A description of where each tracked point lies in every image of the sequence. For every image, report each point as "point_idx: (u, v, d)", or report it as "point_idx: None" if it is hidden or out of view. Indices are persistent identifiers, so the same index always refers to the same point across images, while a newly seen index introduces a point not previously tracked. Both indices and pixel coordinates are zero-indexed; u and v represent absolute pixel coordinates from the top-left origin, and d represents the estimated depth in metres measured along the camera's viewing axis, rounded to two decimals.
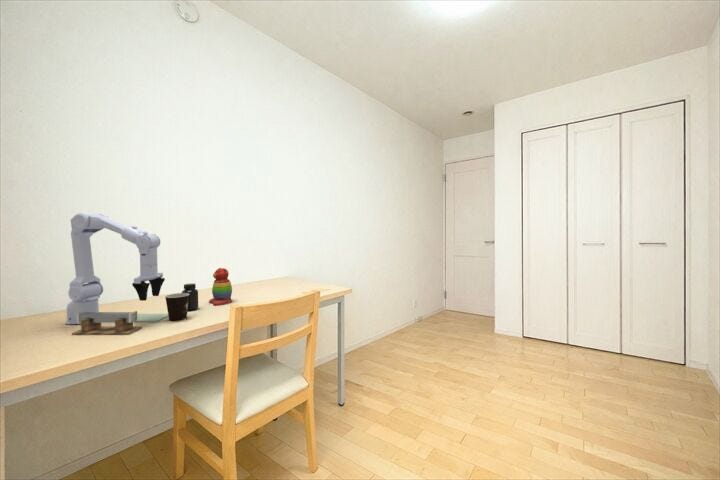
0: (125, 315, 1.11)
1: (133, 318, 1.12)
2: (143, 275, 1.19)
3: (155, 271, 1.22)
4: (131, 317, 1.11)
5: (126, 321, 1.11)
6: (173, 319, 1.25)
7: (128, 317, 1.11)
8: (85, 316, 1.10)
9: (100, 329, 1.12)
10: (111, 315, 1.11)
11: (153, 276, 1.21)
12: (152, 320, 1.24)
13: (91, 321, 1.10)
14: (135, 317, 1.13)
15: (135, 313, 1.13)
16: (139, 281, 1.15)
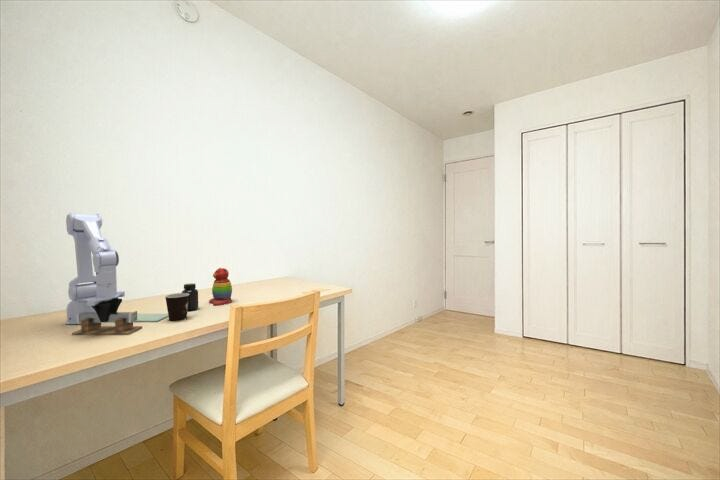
0: (125, 315, 1.11)
1: (133, 318, 1.12)
2: (99, 296, 1.09)
3: (113, 291, 1.11)
4: (131, 317, 1.11)
5: (126, 321, 1.11)
6: (173, 319, 1.25)
7: (128, 317, 1.11)
8: (85, 316, 1.10)
9: (100, 329, 1.12)
10: (111, 315, 1.11)
11: (111, 297, 1.10)
12: (152, 320, 1.24)
13: (91, 321, 1.10)
14: (135, 317, 1.13)
15: (135, 313, 1.13)
16: (93, 303, 1.05)
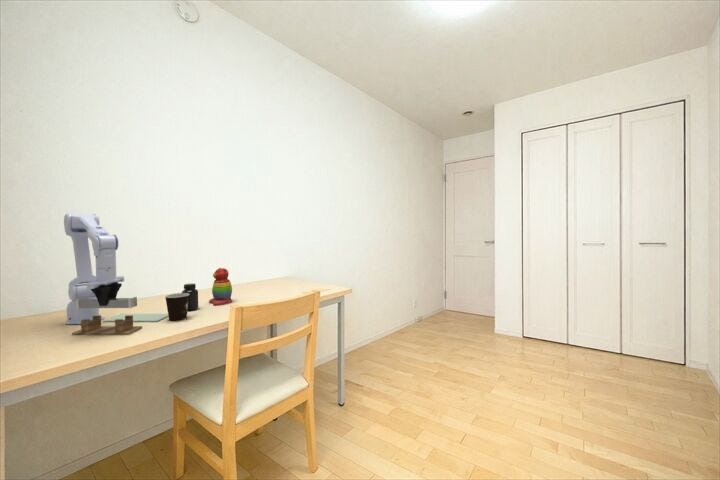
0: (125, 300, 1.10)
1: (133, 303, 1.12)
2: (99, 279, 1.09)
3: (113, 275, 1.11)
4: (131, 302, 1.11)
5: (126, 306, 1.10)
6: (173, 319, 1.25)
7: (128, 302, 1.10)
8: (85, 301, 1.10)
9: (100, 329, 1.12)
10: (111, 300, 1.10)
11: (110, 280, 1.10)
12: (152, 320, 1.24)
13: (91, 307, 1.10)
14: (135, 303, 1.13)
15: (135, 299, 1.13)
16: (92, 286, 1.05)
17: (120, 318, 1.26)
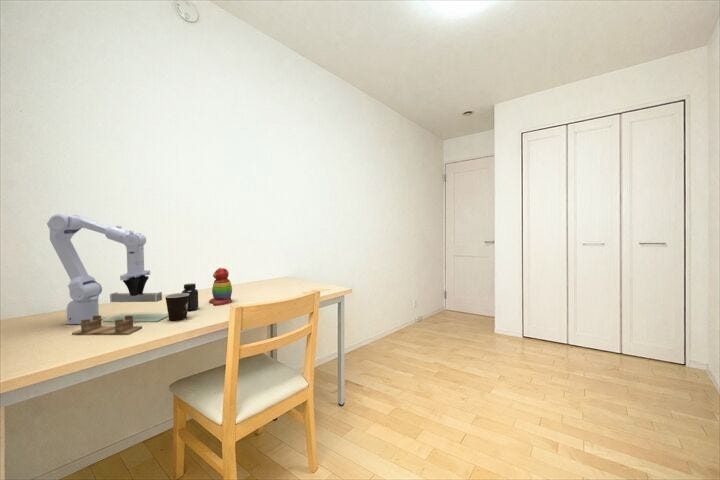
0: (152, 295, 1.25)
1: (159, 298, 1.27)
2: (130, 272, 1.24)
3: (141, 268, 1.26)
4: (157, 297, 1.26)
5: (153, 300, 1.25)
6: (173, 319, 1.25)
7: (154, 297, 1.25)
8: (117, 296, 1.25)
9: (100, 329, 1.12)
10: (139, 295, 1.25)
11: (139, 273, 1.25)
12: (152, 320, 1.24)
13: (122, 301, 1.25)
14: (160, 297, 1.28)
15: (160, 294, 1.28)
16: (125, 278, 1.20)
17: (120, 318, 1.26)
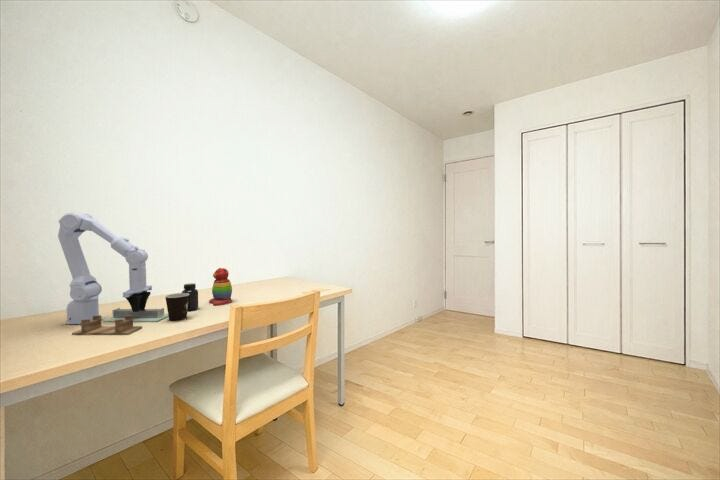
0: (154, 311, 1.27)
1: (161, 314, 1.28)
2: (132, 289, 1.25)
3: (144, 285, 1.27)
4: (159, 313, 1.27)
5: (155, 317, 1.27)
6: (173, 319, 1.25)
7: (157, 313, 1.27)
8: (119, 312, 1.26)
9: (100, 329, 1.12)
10: (142, 311, 1.27)
11: (142, 289, 1.26)
12: (152, 320, 1.24)
13: (124, 317, 1.27)
14: (162, 313, 1.29)
15: (162, 310, 1.29)
16: (128, 295, 1.21)
17: (120, 318, 1.26)
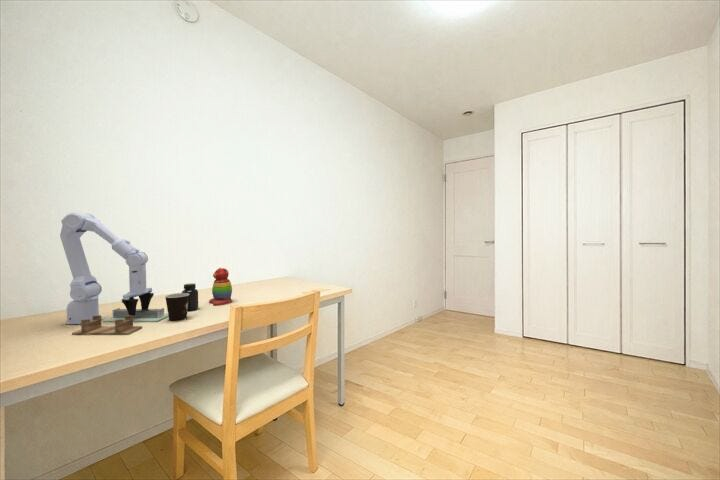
0: (154, 311, 1.27)
1: (161, 314, 1.28)
2: (132, 291, 1.25)
3: (144, 287, 1.27)
4: (159, 313, 1.27)
5: (155, 317, 1.27)
6: (173, 319, 1.25)
7: (157, 313, 1.27)
8: (119, 312, 1.26)
9: (100, 329, 1.12)
10: (142, 311, 1.27)
11: (142, 292, 1.26)
12: (152, 320, 1.24)
13: (124, 317, 1.27)
14: (162, 313, 1.29)
15: (162, 310, 1.29)
16: (128, 297, 1.21)
17: (120, 318, 1.26)
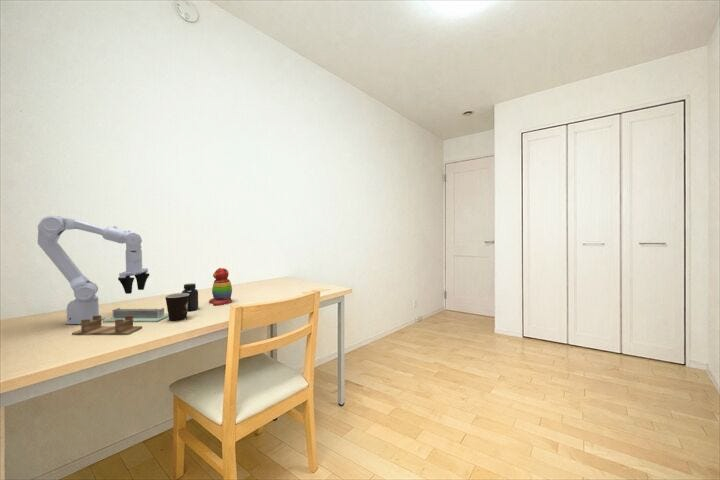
0: (154, 311, 1.27)
1: (161, 314, 1.28)
2: (128, 270, 1.29)
3: (140, 267, 1.32)
4: (159, 313, 1.27)
5: (155, 317, 1.27)
6: (173, 319, 1.25)
7: (157, 313, 1.27)
8: (119, 312, 1.26)
9: (100, 329, 1.12)
10: (142, 311, 1.27)
11: (138, 271, 1.31)
12: (152, 320, 1.24)
13: (124, 317, 1.27)
14: (162, 313, 1.29)
15: (162, 310, 1.29)
16: (124, 275, 1.25)
17: (120, 318, 1.26)
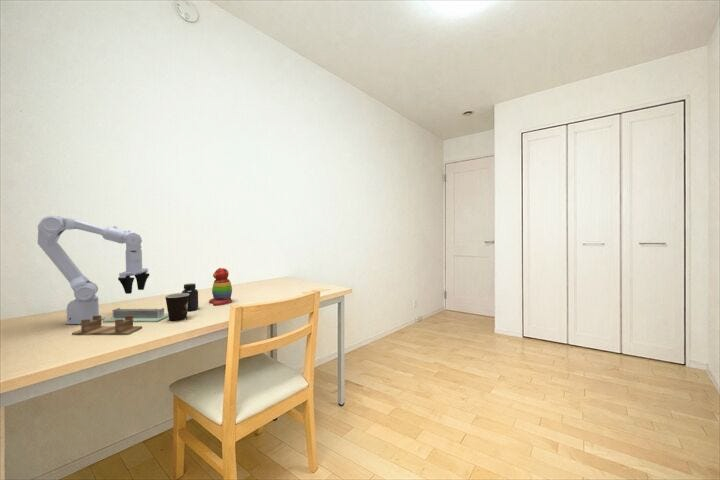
0: (154, 311, 1.27)
1: (161, 314, 1.28)
2: (128, 270, 1.29)
3: (140, 267, 1.32)
4: (159, 313, 1.27)
5: (155, 317, 1.27)
6: (173, 319, 1.25)
7: (157, 313, 1.27)
8: (119, 312, 1.26)
9: (100, 329, 1.12)
10: (142, 311, 1.27)
11: (138, 271, 1.31)
12: (152, 320, 1.24)
13: (124, 317, 1.27)
14: (162, 313, 1.29)
15: (162, 310, 1.29)
16: (124, 275, 1.25)
17: (120, 318, 1.26)
